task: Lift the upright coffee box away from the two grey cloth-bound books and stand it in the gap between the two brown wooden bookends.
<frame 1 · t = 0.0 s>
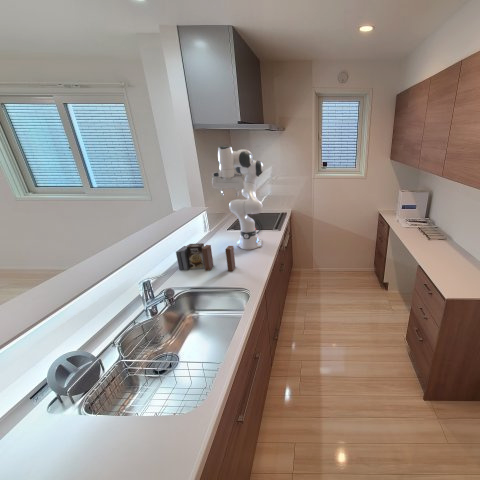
hand: (230, 195, 158), 48 cm above the worktop, tool pointing down, fingers open, 8 cm apart
brown wooden bookends: (220, 268, 166), on the worktop
grey books: (187, 266, 168), on the worktop
coffee box: (198, 267, 168), on the worktop
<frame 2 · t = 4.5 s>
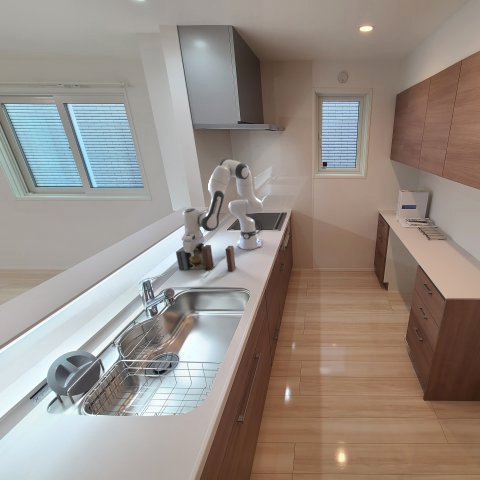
hand: (196, 253, 165), 10 cm above the worktop, tool pointing down, fingers closed on coffee box, 7 cm apart
coffee box: (198, 267, 168), on the worktop, touching gripper
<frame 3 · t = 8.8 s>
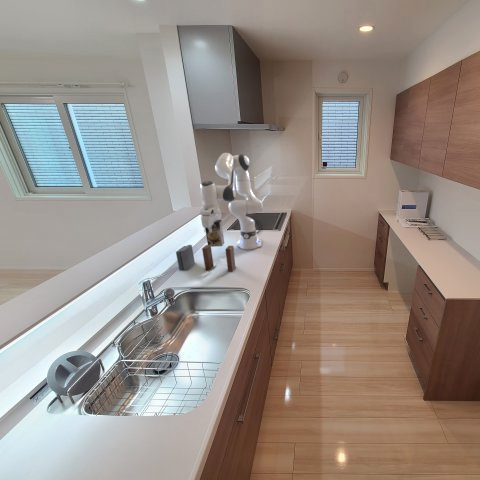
hand: (213, 229, 157), 28 cm above the worktop, tool pointing down, fingers closed on coffee box, 7 cm apart
coffee box: (216, 245, 160), point 17 cm above the worktop, touching gripper
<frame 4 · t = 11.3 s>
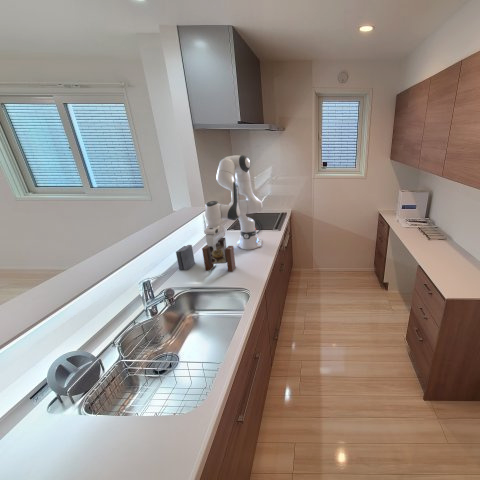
hand: (217, 247, 161), 16 cm above the worktop, tool pointing down, fingers closed on coffee box, 7 cm apart
coffee box: (220, 262, 164), point 5 cm above the worktop, touching gripper
when the fingers open (10 cm above the worktop, at t = 13.1 s): coffee box stays where it is, on the worktop.
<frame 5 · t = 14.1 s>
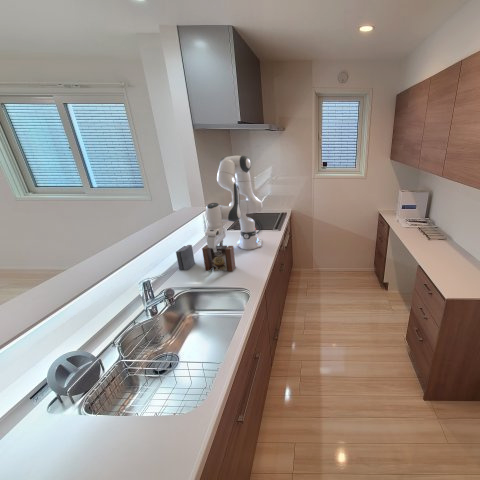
hand: (218, 248, 161), 15 cm above the worktop, tool pointing down, fingers open, 8 cm apart
coffee box: (221, 269, 166), on the worktop
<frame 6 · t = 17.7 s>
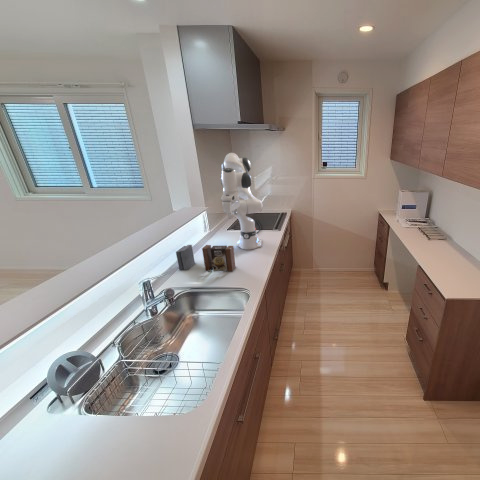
hand: (233, 216, 159), 35 cm above the worktop, tool pointing down, fingers open, 8 cm apart
nothing on the worktop moved.
at the end: coffee box 0.7 cm from the target spot, on the worktop; coffee box tilted 0°; the gripper is holding nothing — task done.
